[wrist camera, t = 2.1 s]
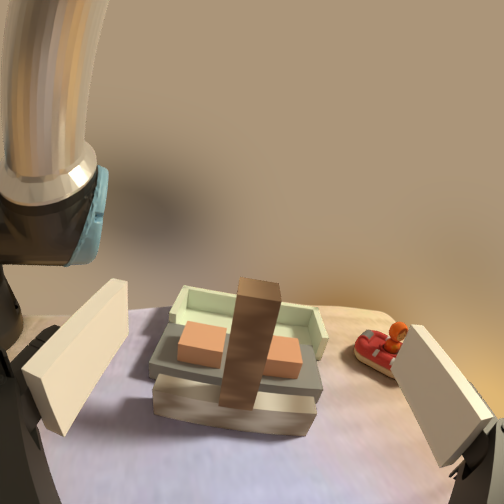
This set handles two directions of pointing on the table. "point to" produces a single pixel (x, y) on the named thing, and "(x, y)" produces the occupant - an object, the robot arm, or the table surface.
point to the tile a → (202, 344)
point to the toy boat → (380, 347)
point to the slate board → (168, 365)
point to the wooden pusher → (240, 377)
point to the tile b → (283, 358)
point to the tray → (222, 308)
